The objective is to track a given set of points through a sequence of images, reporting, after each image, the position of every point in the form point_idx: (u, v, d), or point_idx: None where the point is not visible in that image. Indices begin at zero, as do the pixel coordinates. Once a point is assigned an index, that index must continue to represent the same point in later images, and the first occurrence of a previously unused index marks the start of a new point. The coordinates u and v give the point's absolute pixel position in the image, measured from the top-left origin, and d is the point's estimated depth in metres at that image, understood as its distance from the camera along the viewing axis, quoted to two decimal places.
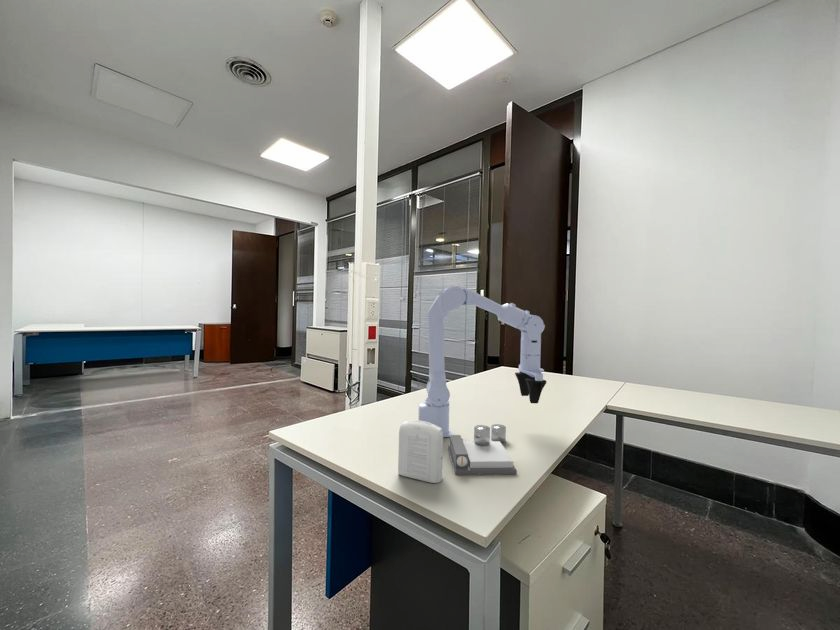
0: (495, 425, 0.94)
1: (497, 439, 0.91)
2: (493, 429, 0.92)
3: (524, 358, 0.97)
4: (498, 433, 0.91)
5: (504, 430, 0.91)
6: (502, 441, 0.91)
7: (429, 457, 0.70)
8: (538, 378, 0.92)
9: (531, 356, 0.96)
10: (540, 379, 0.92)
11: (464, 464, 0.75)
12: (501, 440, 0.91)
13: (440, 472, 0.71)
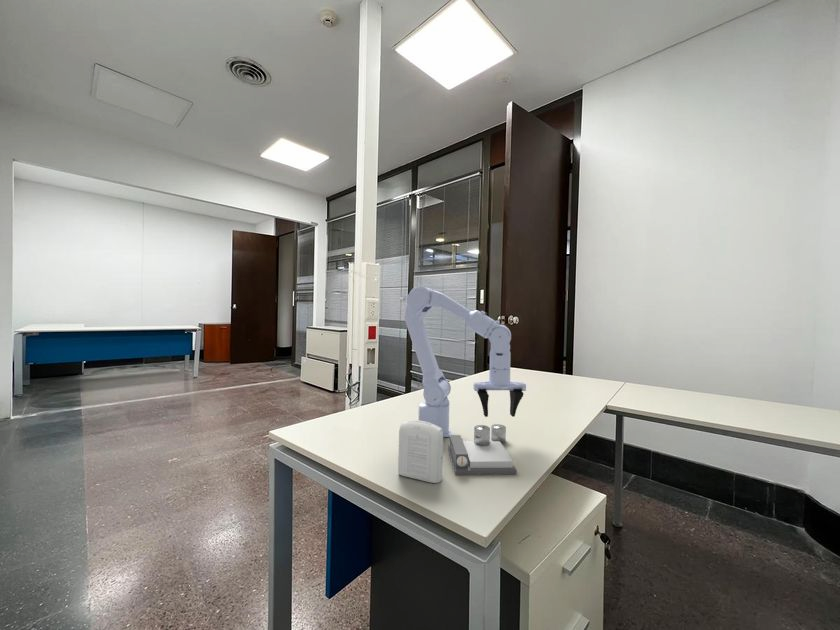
0: (495, 425, 0.94)
1: (497, 439, 0.91)
2: (493, 429, 0.92)
3: None
4: (498, 433, 0.91)
5: (504, 430, 0.91)
6: (502, 441, 0.91)
7: (429, 457, 0.70)
8: (473, 387, 0.93)
9: None
10: (474, 388, 0.92)
11: (464, 464, 0.75)
12: (501, 440, 0.91)
13: (440, 472, 0.71)
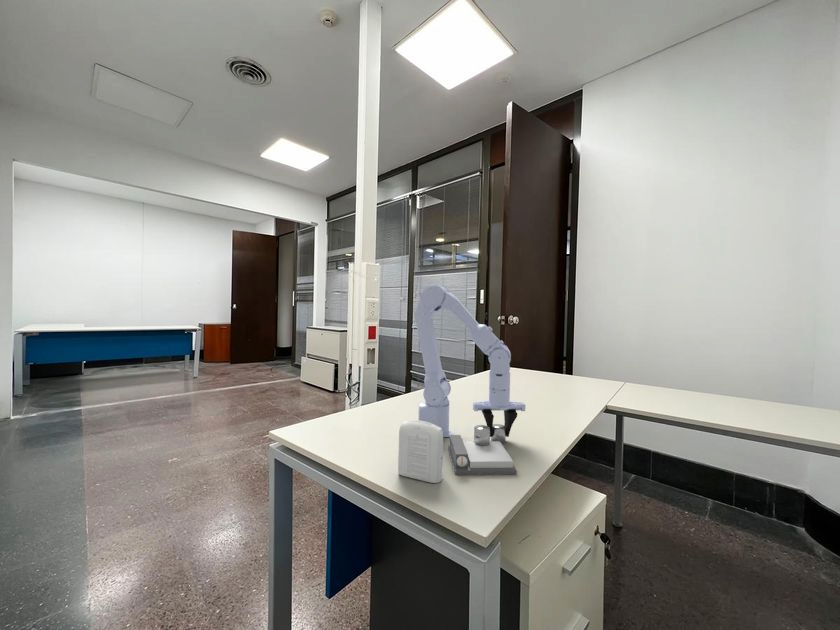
0: (495, 425, 0.94)
1: (497, 439, 0.91)
2: (493, 429, 0.92)
3: None
4: (498, 433, 0.91)
5: (504, 430, 0.91)
6: (502, 441, 0.91)
7: (429, 457, 0.70)
8: (473, 407, 0.93)
9: (489, 387, 0.93)
10: (474, 408, 0.92)
11: (464, 464, 0.75)
12: (501, 440, 0.91)
13: (440, 472, 0.71)
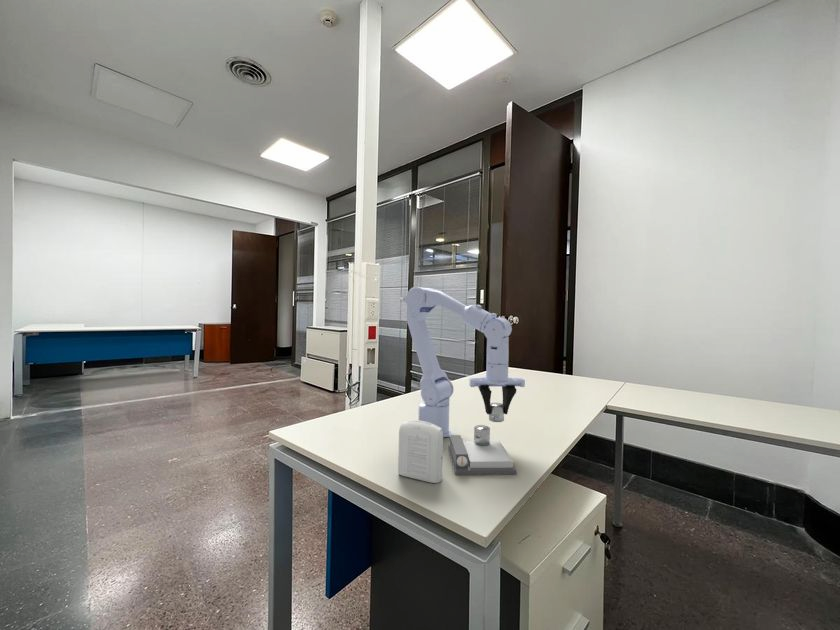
0: (493, 403, 0.89)
1: (495, 417, 0.86)
2: (490, 407, 0.87)
3: None
4: (496, 411, 0.86)
5: (502, 408, 0.87)
6: (500, 419, 0.86)
7: (429, 457, 0.70)
8: (469, 383, 0.88)
9: (486, 362, 0.88)
10: (471, 384, 0.87)
11: (464, 464, 0.75)
12: (499, 418, 0.86)
13: (440, 472, 0.71)
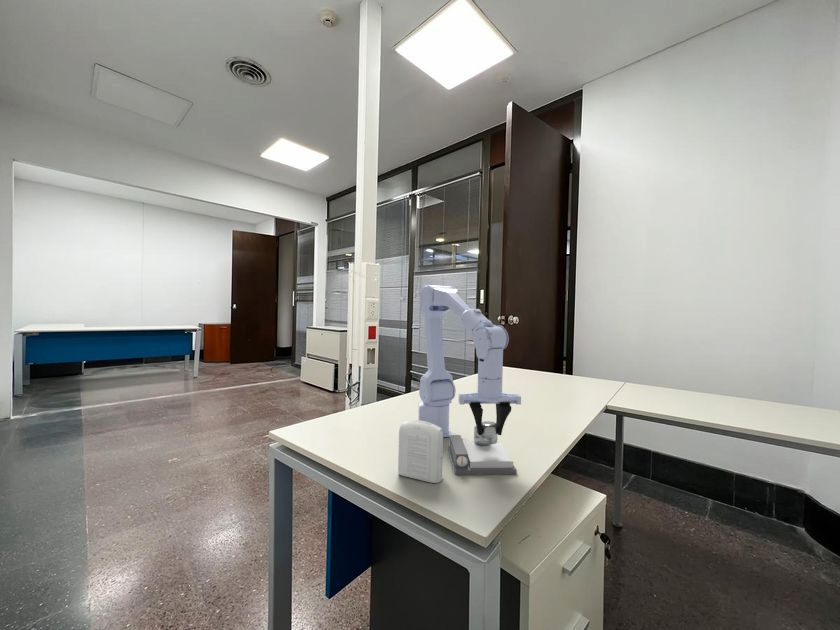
0: (485, 422, 0.79)
1: (486, 439, 0.77)
2: None
3: None
4: (487, 432, 0.76)
5: (494, 428, 0.77)
6: (492, 441, 0.76)
7: (429, 457, 0.70)
8: (459, 400, 0.78)
9: None
10: (460, 401, 0.77)
11: (464, 464, 0.75)
12: (491, 440, 0.76)
13: (440, 472, 0.71)
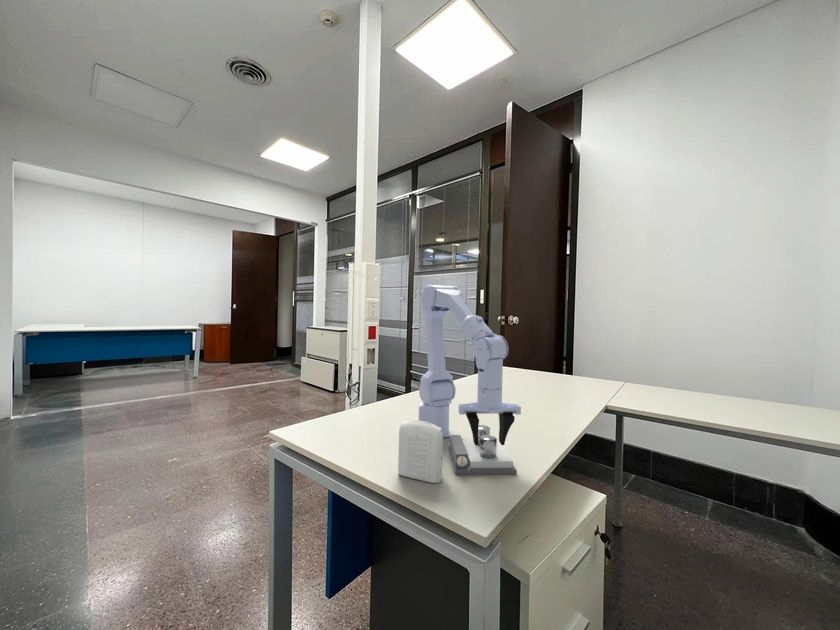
0: (485, 436, 0.79)
1: (485, 453, 0.77)
2: (481, 441, 0.78)
3: None
4: (486, 446, 0.76)
5: (494, 443, 0.77)
6: (491, 456, 0.77)
7: (429, 457, 0.70)
8: None
9: None
10: (460, 411, 0.77)
11: (464, 464, 0.75)
12: (490, 455, 0.76)
13: (440, 472, 0.71)
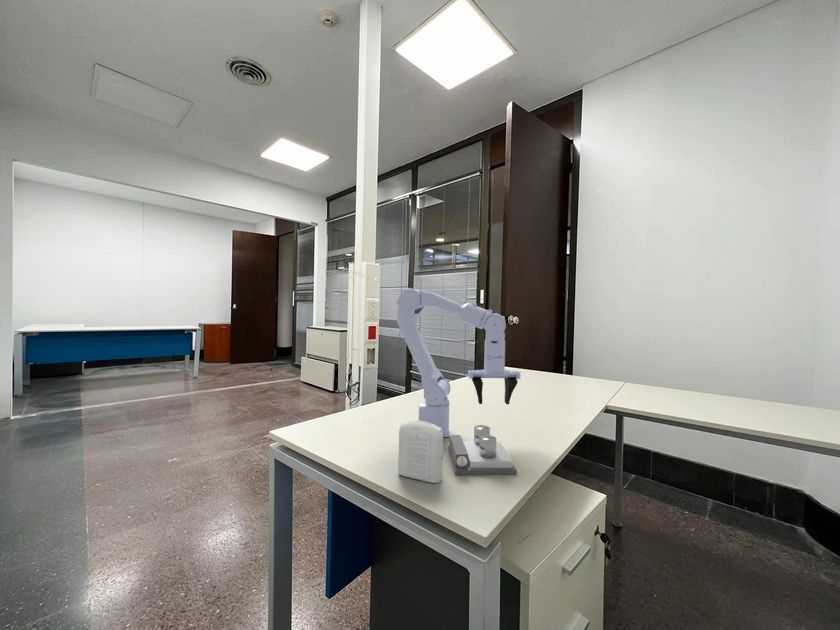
0: (484, 436, 0.79)
1: (485, 453, 0.77)
2: (481, 441, 0.77)
3: None
4: (486, 446, 0.76)
5: (494, 443, 0.77)
6: (491, 456, 0.77)
7: (429, 457, 0.70)
8: (468, 375, 0.93)
9: (484, 356, 0.94)
10: None
11: (464, 464, 0.75)
12: (490, 455, 0.76)
13: (440, 472, 0.71)
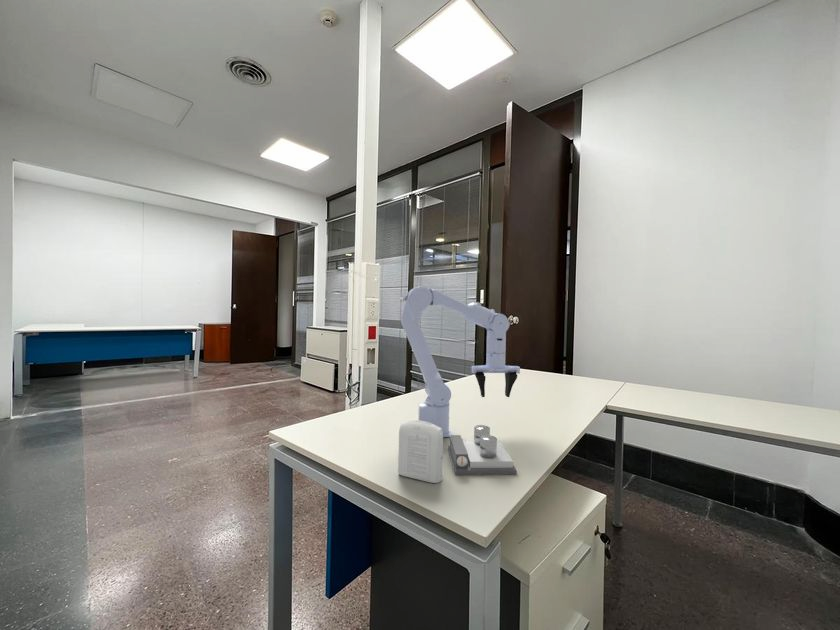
0: (485, 436, 0.79)
1: (486, 453, 0.77)
2: (481, 441, 0.77)
3: None
4: (487, 446, 0.76)
5: (495, 443, 0.77)
6: (492, 456, 0.77)
7: (429, 457, 0.70)
8: None
9: (486, 352, 1.01)
10: (472, 371, 1.00)
11: (464, 464, 0.75)
12: (490, 454, 0.76)
13: (440, 472, 0.71)
